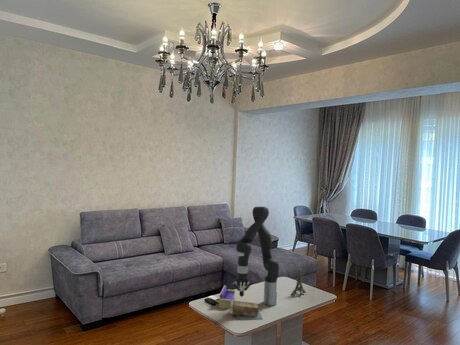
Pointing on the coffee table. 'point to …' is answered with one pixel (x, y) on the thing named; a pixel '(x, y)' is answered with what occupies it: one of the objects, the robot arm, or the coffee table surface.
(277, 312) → the coffee table surface
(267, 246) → the robot arm
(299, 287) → the eiffel tower
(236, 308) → the walnut block
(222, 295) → the toy sofa
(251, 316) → the mat
